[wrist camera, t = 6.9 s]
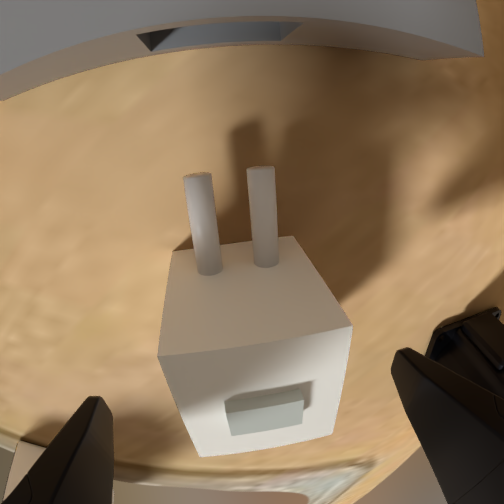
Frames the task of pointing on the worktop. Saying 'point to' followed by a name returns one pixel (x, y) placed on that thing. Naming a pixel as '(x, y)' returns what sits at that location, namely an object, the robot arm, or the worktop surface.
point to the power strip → (218, 31)
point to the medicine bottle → (24, 465)
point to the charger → (250, 331)
